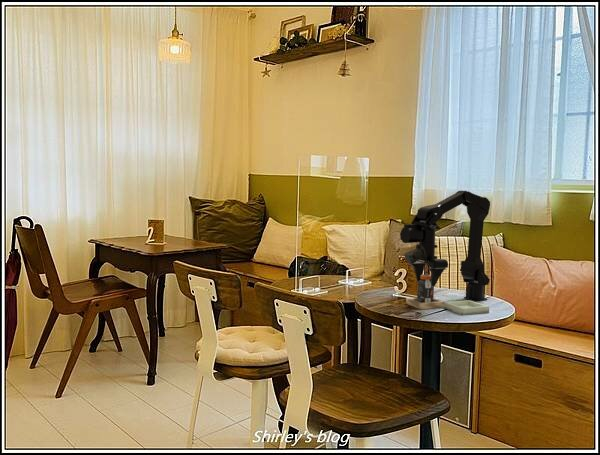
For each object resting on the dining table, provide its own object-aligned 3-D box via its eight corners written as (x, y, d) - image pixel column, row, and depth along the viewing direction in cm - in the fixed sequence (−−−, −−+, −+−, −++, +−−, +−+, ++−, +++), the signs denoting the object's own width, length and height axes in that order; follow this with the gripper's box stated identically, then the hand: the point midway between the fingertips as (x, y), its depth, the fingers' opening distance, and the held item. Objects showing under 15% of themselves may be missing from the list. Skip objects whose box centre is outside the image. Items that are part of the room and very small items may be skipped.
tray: (469, 305, 213) (469, 300, 213) (489, 312, 203) (489, 306, 203) (444, 308, 209) (444, 302, 209) (463, 314, 199) (463, 308, 199)
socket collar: (428, 301, 220) (429, 296, 220) (444, 307, 210) (444, 301, 210) (406, 303, 216) (406, 298, 216) (421, 309, 207) (421, 303, 207)
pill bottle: (433, 307, 210) (434, 276, 209) (416, 306, 211) (417, 276, 210) (433, 304, 216) (434, 274, 215) (416, 303, 217) (417, 273, 216)
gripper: (394, 240, 217) (393, 281, 218) (422, 245, 200) (421, 290, 201) (419, 239, 221) (418, 279, 222) (449, 244, 204) (448, 288, 205)
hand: (425, 284), depth 213 cm, fingers open, 9 cm apart
